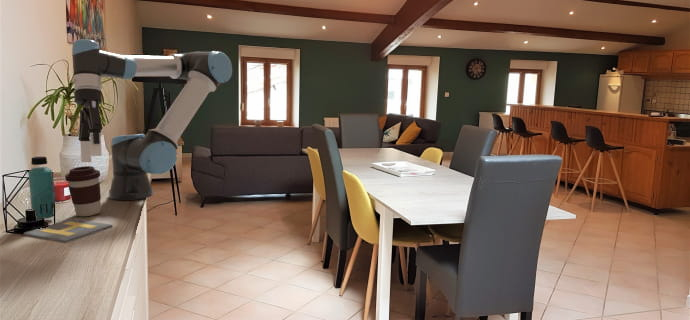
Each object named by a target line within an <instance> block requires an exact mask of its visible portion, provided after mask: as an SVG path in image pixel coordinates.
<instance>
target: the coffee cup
mask: <svg viewBox="0 0 690 320" xmlns="http://www.w3.org/2000/svg"><path fill="white" fill-rule="evenodd" d="M100 176H101V171H100V170H97V169H96V168H95V166H92V165H87V166H86V165H85V166H77V167H73V168H71V169H69V172H68V173H67V174H65V175H64V177H65V181H66V182H67V183H68V190H69V194H70V198H71V201H72V204H73V207H74V212H75V215H76V216H77V217H90V216H94V215H96V214H97V215H98V214H100V213H101V211H102V208H101V207H102V206H101V199H102V198H101V183H100V179H99V178H100Z"/></svg>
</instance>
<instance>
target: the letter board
mask: <svg viewBox="0 0 690 320" xmlns="http://www.w3.org/2000/svg"><path fill="white" fill-rule="evenodd" d="M54 224H55V223H51V224H49V225H47V226H48V227H46V228H42V227H39V228H40V229H38V228H35V229H31V230H28V231H25V232H23V235H24V236H28V237H32V238H38V239H43V240H50V241H54V242H60V243H69V242H72V241H75V240H77V239H80V238H83V237H86V236H89V235H92V234H96V233H98V232H101V231H103V229H104V230H107V229H109V228H112V227H113V224H109V223H104V222H97V221H92V220H87V219H86V220H85V219H78V218H69V219H65V220H62V221H59V222H56V224H55V225H54ZM106 228H107V229H106ZM100 230H101V231H100Z"/></svg>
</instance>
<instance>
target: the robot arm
mask: <svg viewBox="0 0 690 320" xmlns="http://www.w3.org/2000/svg"><path fill="white" fill-rule="evenodd" d="M71 49H72V50H71V53H72V54H71V57H72V69H73V73H72V74H73V78H71V82H73V89H74V91H73V96H74V103H75V104H77V105H81V106H82V108H81V109H79V126H78V128H79V129H78V141H79V142H80V159H81V161H80V162H81V163H92V157H94V156H95V157H98V156H99V157H101V156H102V154H103V153H102V139H101V138H102V136H101V133H102V130H103V124H102V118H101V113H100V108H99V105H101V104H102V103H103V94H102V78H115V79H117V78H118V79H121V80H131V79H133V78H134V77H170V79H174V80H175V79H178V80H186V81H187V82H186V83H185V85H184V87H183V88H182V89H181V91H180V92H179V94H178V96H176V98H175V99H174V101H173V102H172V103H171V105H170V107H169V108H168V110H167V111H166V113H165V114H164V115H163V117H162V118H161V120H160V121H159V123H158V124H157V126H156V127H155V128H152V129H149V130H148V131H147V132H146V134H144V133H138V134H137V133H136V134H126V135H125V134H124V135H115V136H113V137H112V138H111V141H110V142H111V144H110V148H111V159H112V160H111V161H112V174H113V175H112V181H111V185H110V189H108V190H109V191H108V197H109V198H110V199H111V200H116V201H135V200H143V199H147V198H150V197H152V196H153V195H154V189H153V187H152V185H151V181H150V178H149V176H148V174H149V175H163V174H165V173H167V172H169V171H170V170H172V169H173V167H174V166H175V164H176V162H177V159H178V157H177V155H178V152H177V151H178V148H179V145H178V141H179V139H180V138H181V136H182V135H183V132H184V131H185V130H186V128H187V127H188V125H190V122H191V121H192V119H193V118H194V116H195V114H196V113H197V112H198V110H199V109H200V107H201V105H202V104H203V102H204V101H205V100H206V98H207V96H208V95H209V93H211V92H212V93H213V92H216V90H217V88H218V87H219V85H220V84H221V83H222V84H224V83H226V82H229V80H230V79H231V77H232V75H233V66H232V61H231V59H230V58H229V56H228V55H227V54H225V53H224V52H222V51H216V50H212V51H191V52H183V53H170V54H169V55H167V56H165V55H135V54H134V55H133V54H132V55H128V54H119V53H113V52H107V51H104V50H101V48H100V44H99V42H97V41H96V40H92V39H88V38H86V39H85V38H82V39H77V40H75V41H73V43H72V48H71ZM109 198H108V199H109Z"/></svg>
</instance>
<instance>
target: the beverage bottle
mask: <svg viewBox="0 0 690 320" xmlns="http://www.w3.org/2000/svg"><path fill="white" fill-rule="evenodd" d="M47 164H48V160H47V157H46V156H33V157H31V165H33V166H36V167H32V168H31V169H30V170H29V171H28V173H27V174H28V182H29V184H28V185H29V193H30V195H29V196H30V210H31V209H34V210H35V211H36V216H37V217H38V218H43V217H45V219H50V218H53V216H54V214H53V203H54V205H55V206H56V204H55V202H56V201H55V199H56V198H55V192H54V190H55V187H54V185H55V184H54V181H53V180H54V178H53V170H52V169H50V168H49V167H47V166H42V165H47ZM37 166H38V167H37ZM55 211H56V208H55ZM54 217H55V216H54Z"/></svg>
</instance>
